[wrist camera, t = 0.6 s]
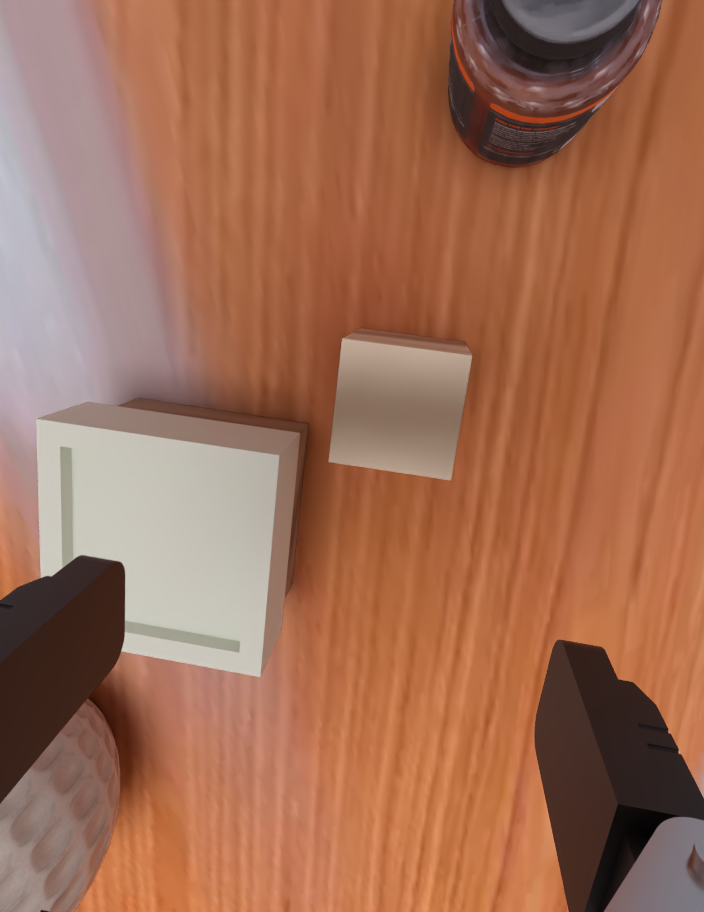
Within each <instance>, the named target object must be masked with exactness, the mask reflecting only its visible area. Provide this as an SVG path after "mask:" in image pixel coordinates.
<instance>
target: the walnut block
mask: <svg viewBox="0 0 704 912" xmlns="http://www.w3.org/2000/svg"><path fill="white" fill-rule="evenodd" d="M119 407H126V408H133V409H140V410H147V411H154V412H160V413H167V414H174V415H181V416H188V417H195V418H202V419H208V420H215V421H222V422H229V423H236V424H243V425H250V426H256V427H263V428H270V429H277V430H284V431H291V432H297V433H300V441H299V451H298V462H297V473H296V483H295V494H294V504H293V515H292V525H291V536H290V546H289V557H288V567H287V578H286V589H285V597H286V595H287V593H288V591H289V589H290V587H291V585H292V581H293V571H294V562H295V552H296V542H297V533H298V523H299V513H300V503H301V494H302V484H303V474H304V464H305V455H306V445H307V435H308V426H309V423H302V422H295V421H288V420H282V419H275V418H268V417H262V416H255V415H248V414H241V413H235V412H228V411H221V410H215V409H208V408H201V407H194V406H188V405H181V404H174V403H168V402H161V401H154V400H147V399H141V398H138V399H135V400H132V401H130V402H127V403H124V404H122V405H119Z"/></svg>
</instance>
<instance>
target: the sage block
mask: <svg viewBox="0 0 704 912" xmlns="http://www.w3.org/2000/svg"><path fill="white" fill-rule="evenodd" d="M36 430H37V464H38V499H39V533H40V567H41V578H42V577H45V576H51V577H52V576H53V575H54V574H56V573H57V572H58V571H59V570H61V569H62V568H63V567H65V566H66V565H67V564H68V563H70V562H71V561H72V560H74V559H75V558H76V557H78V556H80V555H86V556H91V557H97V558H103V559H108V560H114V561H119V562H121V563H122V564H123V565H124V568H125V637H124V643H123V647H122V650H121V651H123V652H128V653H133V654H139V655H144V656H149V657H155V658H160V659H166V660H171V661H176V662H182V663H187V664H193V665H198V666H203V667H209V668H214V669H220V670H225V671H230V672H236V673H241V674H246V675H252V676H257V677H261V675H262V672H263V670H264V668H265V666H266V663H267V661H268V659H269V657H270V655H271V652H272V650H273V648H274V646H275V643H276V641H277V639H278V637H279V635H280V632H281V630H282V620H283V610H284V599H285V589H286V578H287V567H288V557H289V546H290V536H291V525H292V515H293V504H294V494H295V483H296V473H297V462H298V451H299V441H300V433H297V432H291V431H284V430H277V429H270V428H263V427H256V426H250V425H243V424H236V423H229V422H222V421H215V420H208V419H202V418H195V417H188V416H181V415H174V414H167V413H160V412H154V411H147V410H140V409H133V408H126V407H119V406H113V405H106V404H99V403H92V402H86V403H83V404H80V405H77V406H74V407H71V408H68V409H65V410H61V411H58V412H55V413H52V414H49V415H46V416H43V417H40V418H37V419H36Z"/></svg>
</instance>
